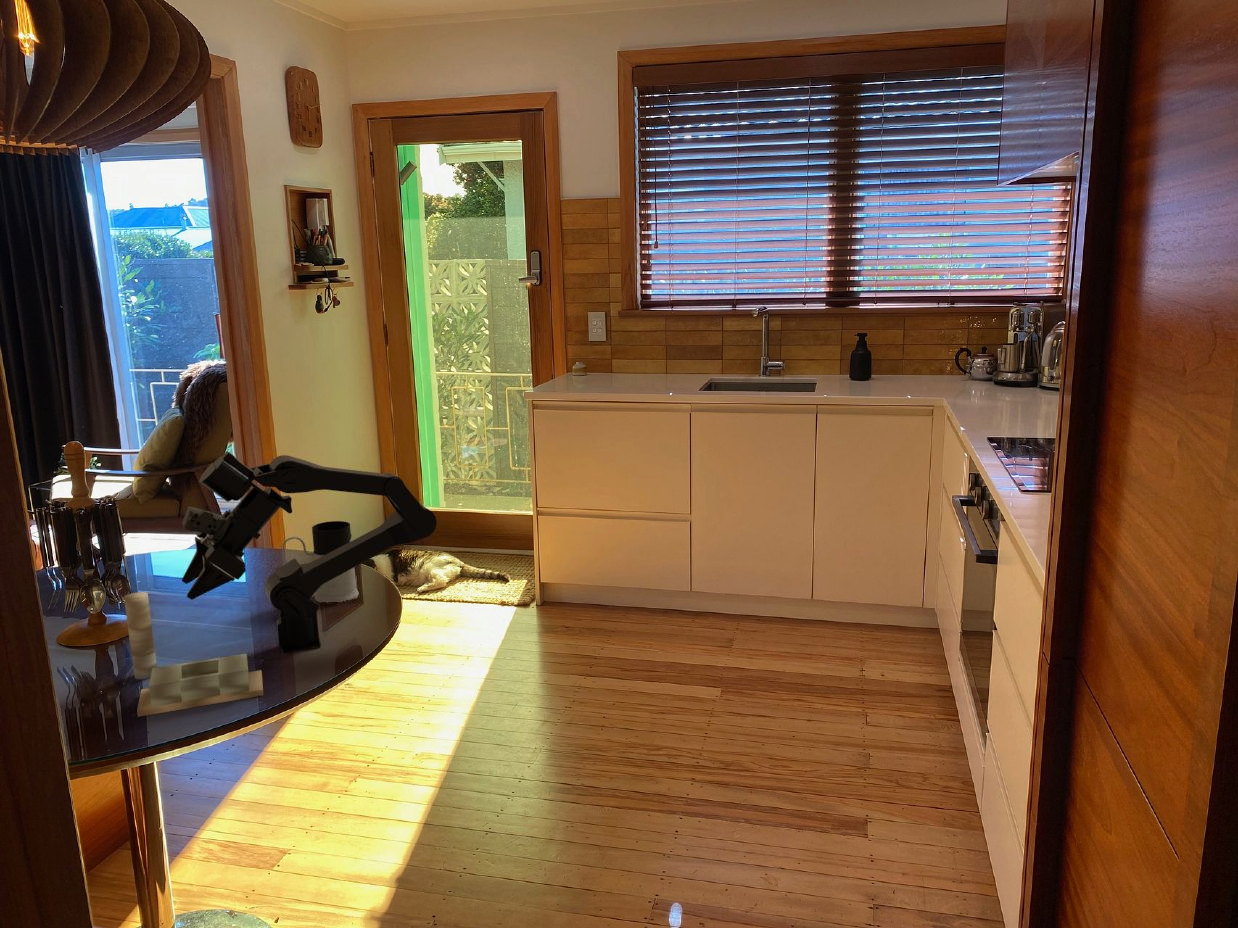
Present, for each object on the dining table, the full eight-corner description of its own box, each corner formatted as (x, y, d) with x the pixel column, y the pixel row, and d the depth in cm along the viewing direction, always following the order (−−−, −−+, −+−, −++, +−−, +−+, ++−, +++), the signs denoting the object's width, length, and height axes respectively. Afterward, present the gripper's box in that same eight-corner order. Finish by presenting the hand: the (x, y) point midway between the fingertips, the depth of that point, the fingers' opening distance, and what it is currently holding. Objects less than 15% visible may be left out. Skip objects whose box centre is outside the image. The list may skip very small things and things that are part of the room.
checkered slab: (261, 675, 158) (259, 650, 157) (263, 695, 150) (260, 668, 149) (142, 695, 151) (138, 669, 150) (137, 716, 144) (134, 689, 143)
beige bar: (158, 668, 161) (148, 590, 158) (157, 676, 158) (146, 597, 155) (135, 672, 160) (125, 594, 157) (133, 680, 156) (123, 600, 154)
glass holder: (362, 598, 194) (357, 528, 191) (290, 610, 188) (283, 537, 184) (354, 586, 201) (348, 518, 198) (284, 597, 195) (277, 527, 192)
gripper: (203, 479, 166) (141, 549, 164) (216, 501, 150) (148, 579, 148) (255, 516, 172) (196, 584, 169) (272, 540, 156) (207, 616, 153)
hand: (186, 589), depth 159 cm, fingers open, 9 cm apart
